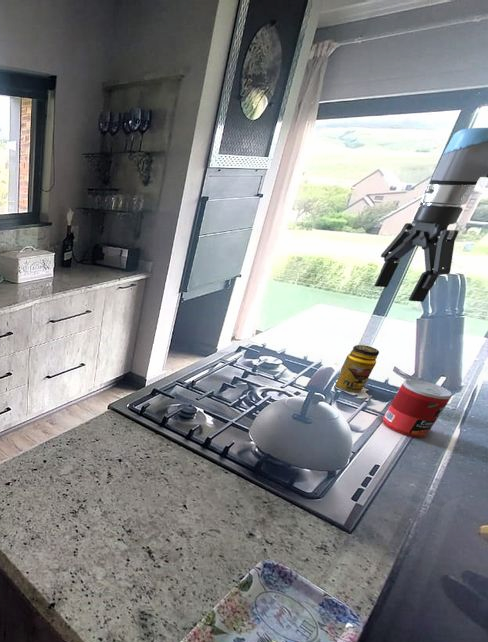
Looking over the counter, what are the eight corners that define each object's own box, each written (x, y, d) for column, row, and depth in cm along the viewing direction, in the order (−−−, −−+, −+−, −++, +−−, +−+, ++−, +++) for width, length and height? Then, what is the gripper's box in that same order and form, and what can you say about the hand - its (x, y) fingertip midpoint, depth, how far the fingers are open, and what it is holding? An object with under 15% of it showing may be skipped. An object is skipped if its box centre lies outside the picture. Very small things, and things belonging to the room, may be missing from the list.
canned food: (415, 441, 90) (442, 399, 85) (373, 422, 97) (396, 382, 91) (433, 433, 93) (460, 392, 88) (391, 415, 99) (414, 376, 94)
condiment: (353, 395, 108) (375, 355, 102) (319, 381, 115) (337, 343, 109) (368, 390, 111) (390, 350, 105) (334, 377, 117) (352, 339, 112)
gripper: (388, 200, 106) (353, 280, 116) (465, 209, 84) (414, 306, 94) (422, 201, 105) (383, 282, 115) (509, 210, 83) (451, 309, 93)
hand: (397, 293), depth 105 cm, fingers open, 13 cm apart
